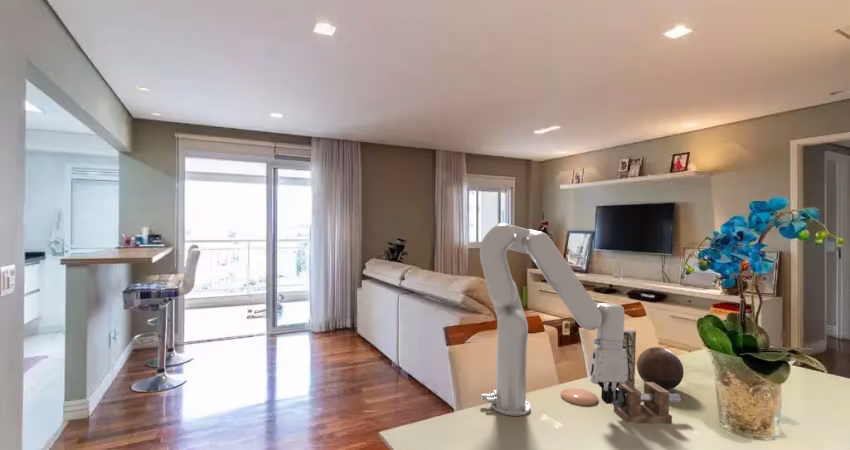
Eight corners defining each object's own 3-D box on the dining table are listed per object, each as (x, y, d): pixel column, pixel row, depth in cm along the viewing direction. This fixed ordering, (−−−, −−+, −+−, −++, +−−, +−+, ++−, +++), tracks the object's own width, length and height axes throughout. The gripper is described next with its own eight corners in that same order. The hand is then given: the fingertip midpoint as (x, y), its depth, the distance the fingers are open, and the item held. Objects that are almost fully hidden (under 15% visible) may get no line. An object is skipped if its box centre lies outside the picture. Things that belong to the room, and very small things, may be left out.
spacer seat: (569, 405, 136) (569, 402, 136) (555, 390, 148) (555, 388, 148) (604, 405, 136) (604, 402, 136) (588, 390, 148) (588, 388, 148)
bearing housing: (627, 423, 125) (628, 392, 125) (613, 411, 133) (614, 382, 132) (671, 422, 125) (672, 392, 125) (655, 410, 133) (656, 381, 133)
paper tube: (636, 407, 136) (638, 331, 136) (614, 404, 137) (616, 330, 137) (630, 398, 143) (632, 326, 142) (609, 396, 144) (611, 325, 144)
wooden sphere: (693, 396, 146) (694, 354, 146) (655, 398, 144) (656, 355, 144) (662, 380, 161) (663, 341, 161) (627, 381, 158) (628, 342, 158)
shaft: (619, 410, 126) (620, 392, 126) (610, 402, 131) (610, 385, 131) (683, 410, 127) (684, 392, 127) (671, 402, 132) (672, 385, 132)
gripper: (591, 346, 124) (589, 407, 124) (639, 347, 125) (637, 408, 125) (581, 339, 131) (578, 396, 132) (626, 340, 132) (623, 397, 132)
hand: (607, 402), depth 128 cm, fingers closed
